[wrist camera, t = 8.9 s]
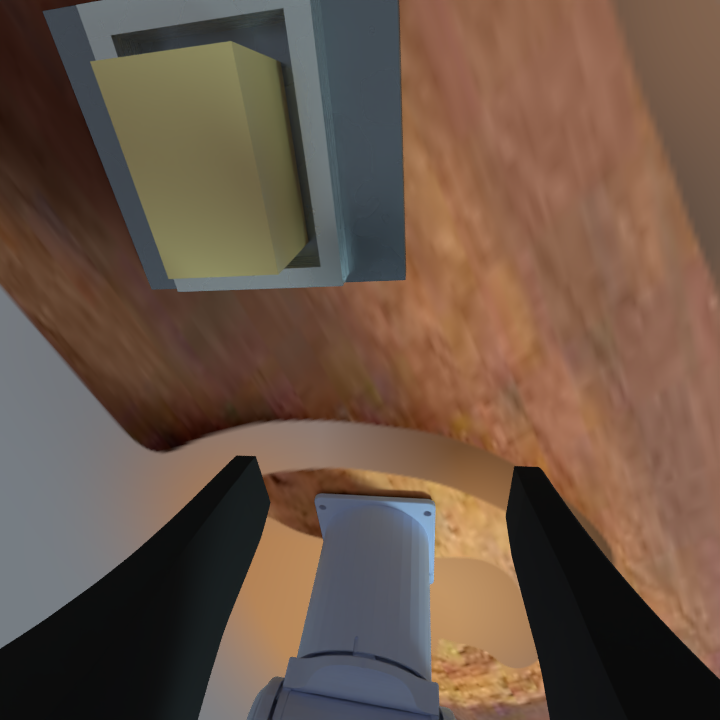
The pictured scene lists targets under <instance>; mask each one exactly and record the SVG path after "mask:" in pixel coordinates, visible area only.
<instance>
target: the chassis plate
mask: <svg viewBox="0 0 720 720" xmlns="http://www.w3.org/2000/svg"><path fill="white" fill-rule="evenodd" d="M43 14H44V16H45V19H46V21H47V24H48V26H49V29H50V31H51V34H52V37H53V39H54V42H55V44H56V47H57V49H58V52H59V54H60V57H61V59H62V62H63V65H64V67H65V70H66V72H67V75H68V77H69V80H70V82H71V85H72V87H73V90H74V93H75V95H76V98H77V100H78V103H79V105H80V108H81V110H82V113H83V116H84V118H85V121H86V123H87V126H88V128H89V131H90V133H91V136H92V138H93V141H94V144H95V146H96V149H97V151H98V154H99V156H100V159H101V161H102V164H103V166H104V169H105V172H106V174H107V177H108V179H109V182H110V184H111V187H112V189H113V192H114V194H115V197H116V200H117V202H118V205H119V207H120V210H121V212H122V215H123V217H124V220H125V223H126V225H127V228H128V230H129V233H130V235H131V238H132V240H133V243H134V245H135V248H136V251H137V253H138V256H139V258H140V261H141V263H142V266H143V268H144V271H145V273H146V276H147V279H148V281H149V284H150V286H151V289H177V290H178V292H186V291H214V290H241V289H269V288H297V287H325V286H343V285H344V283H345V282H365V281H391V280H405V278H406V249H405V209H404V170H403V131H402V92H401V52H400V13H399V0H101V1H95V2H89V3H84V4H78V5H75V6H69V7H63V8H58V9H52V10H46V11H43ZM228 41H232V42H235V43H237V44H239V45H242V46H244V47H247V48H249V49H251V50H254V51H256V52H258V53H261V54H263V55H266V56H268V57H270V58H273V59H275V60H277V61H280V62H281V67H282V74H283V80H284V87H285V93H286V100H287V106H288V113H289V119H290V126H291V132H292V138H293V145H294V151H295V158H296V164H297V171H298V177H299V184H300V190H301V197H302V203H303V210H304V216H305V223H306V229H307V235H308V243H307V244H306V245H305V247H304V248H303V249H302V250H301V251H300V252H299V253H298V254H297V255H296V256H295V257H294V259H293V260H292V261H291V262H290V263H289V264H288V265H287V266H286V267H285V268H284V269H283V270H282V272H281V273H280V274H279V275H257V276H232V277H207V278H182V279H168V276H167V273H166V270H165V268H164V265H163V262H162V259H161V257H160V254H159V251H158V248H157V245H156V243H155V240H154V237H153V234H152V232H151V229H150V226H149V223H148V221H147V218H146V215H145V212H144V209H143V207H142V204H141V201H140V198H139V196H138V193H137V190H136V187H135V185H134V182H133V179H132V176H131V174H130V171H129V168H128V165H127V162H126V160H125V157H124V154H123V151H122V149H121V146H120V143H119V140H118V138H117V135H116V132H115V129H114V126H113V124H112V121H111V118H110V115H109V113H108V110H107V107H106V104H105V102H104V99H103V96H102V93H101V90H100V88H99V85H98V82H97V79H96V77H95V74H94V71H93V68H92V66H91V63H90V61H97V60H104V59H111V58H118V57H124V56H131V55H138V54H145V53H152V52H159V51H166V50H173V49H179V48H186V47H193V46H200V45H207V44H214V43H221V42H228Z"/></svg>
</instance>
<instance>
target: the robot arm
mask: <svg viewBox="0 0 720 720" xmlns="http://www.w3.org/2000/svg"><path fill="white" fill-rule="evenodd" d="M269 506H270V499H269V496H268V493H267V490H266V487H265V484H264V481H263V477H262V474H261V471H260V468H259V465H258V462H257V459H256V456H236V457H234V459H233V460H231V461H230V462H229V463H228V464H227V465H226V466H225V467H224V468H223V469H222V470H221V471H220V472H219V473H218V474H217V475H216V476H215V477H214V478H213V479H212V480H211V481H210V482H209V483H208V484H207V485H206V486H205V487H204V488H203V489H202V490H201V491H200V492H199V493H198V494H197V495H196V496H195V497H194V498H193V499H192V500H191V501H190V502H189V503H188V504H187V505H186V506H185V507H184V508H183V509H182V510H181V511H180V512H178V514H176V515H175V516H174V517H173V518H172V519H171V520H170V521H169V522H168V523H167V524H166V525H165V526H164V527H162V528H161V529H160V530H159V531H158V532H157V533H156V534H154V535H153V536H152V537H151V538H150V539H149V540H148V541H147V542H146V543H144V544H143V545H142V546H141V547H140V548H139V549H138V550H136V551H135V552H134V553H133V554H132V555H131V556H129V557H128V558H127V559H126V560H124V562H122V563H121V564H120V565H118V566H117V567H116V568H114V569H113V570H112V571H111V572H109V573H108V574H107V575H106V576H104V577H103V578H102V579H100V580H99V581H98V582H97V583H95V584H94V585H93V586H91V587H90V588H88V589H87V590H86V591H84V592H83V593H82V594H80V595H79V596H77V597H76V598H75V599H73V600H72V601H70V602H69V603H68V604H66V605H65V606H63V607H62V608H61V609H59V610H58V611H56V612H55V613H54V614H52V615H51V616H49V617H48V618H47V619H45V620H44V621H42V622H41V623H39V624H38V625H36V626H35V627H33V628H32V629H30V630H29V631H27V632H26V633H24V634H23V635H21V636H20V637H18V638H16V639H15V640H13V641H12V642H10V643H9V644H7V645H5V646H4V647H2V648H1V649H0V720H198V717H199V713H200V710H201V706H202V703H203V699H204V696H205V692H206V689H207V685H208V681H209V678H210V675H211V671H212V668H213V665H214V662H215V658H216V655H217V652H218V649H219V645H220V642H221V639H222V635H223V633H224V630H225V627H226V625H227V622H228V619H229V616H230V614H231V611H232V609H233V606H234V604H235V601H236V599H237V597H238V594H239V591H240V589H241V587H242V584H243V582H244V579H245V577H246V574H247V572H248V569H249V567H250V564H251V562H252V559H253V557H254V554H255V552H256V549H257V546H258V544H259V541H260V539H261V536H262V532H263V529H264V525H265V522H266V518H267V514H268V510H269ZM315 506H316V510H317V515H318V519H319V524H320V528H321V532H322V537H323V541H324V542H323V546H322V551H321V555H320V559H319V564H318V568H317V573H316V577H315V582H314V585H313V590H312V594H311V599H310V603H309V607H308V611H307V616H306V620H305V624H304V629H303V633H302V637H301V642H300V646H299V651H298V655H297V658H296V657H290V659H289V663H288V667H287V671H286V675H285V678H282V677H274V678H272V679H271V681H270V682H269V683H268V685H266V686H265V687H264V688H263V689H262V690H261V691H260V692H259V693H258V695H257V696H256V698H255V701H254V702H253V705H252V707H251V709H250V712H249V714H248V717H247V720H456V719H455V716H454V714H453V712H452V711H451V710H450V709H449V708H446V707H440V706H439V685H438V683H436V682H431V633H430V584H432V583H433V581H434V545H435V502H434V501H432V500H430V499H419V498H400V497H381V496H362V495H344V494H325V493H320V494H317V495H316V497H315ZM506 522H507V529H508V536H509V542H510V548H511V555H512V559H513V563H514V567H515V571H516V575H517V578H518V582H519V586H520V590H521V594H522V597H523V601H524V605H525V609H526V613H527V616H528V620H529V624H530V628H531V632H532V635H533V639H534V643H535V647H536V650H537V654H538V659H539V664H540V668H541V672H542V677H543V683H544V689H545V694H546V700H547V705H548V711H549V717H550V720H720V679H719V678H718V677H717V676H716V675H715V674H714V673H713V672H712V671H711V670H710V669H709V668H708V667H707V666H706V665H705V664H704V663H703V662H702V661H701V660H700V659H699V658H698V657H697V656H696V655H695V654H694V653H693V652H692V651H691V650H690V649H689V648H688V647H687V646H686V645H685V644H684V643H683V642H682V641H681V640H680V639H679V638H678V637H677V636H676V635H675V634H674V633H673V632H672V631H671V630H670V629H669V627H668V626H667V625H666V624H665V623H664V622H663V621H662V620H661V619H660V618H659V617H658V616H657V615H656V614H655V613H654V611H653V610H652V609H651V608H650V607H649V606H648V605H647V604H646V603H645V602H644V600H643V599H642V598H641V597H640V596H639V595H638V594H637V593H636V591H635V590H634V589H633V588H632V587H631V586H630V584H629V583H628V582H627V581H626V580H625V579H624V577H623V576H622V575H621V574H620V573H619V572H618V570H617V569H616V568H615V567H614V566H613V564H612V563H611V562H610V561H609V560H608V558H606V556H605V555H604V554H603V552H602V551H601V550H600V548H599V547H598V546H597V545H596V543H595V542H594V541H593V539H592V538H591V537H590V536H589V535H588V533H587V532H586V531H585V529H584V528H583V527H582V525H581V524H580V523H579V522H578V520H577V519H576V517H575V516H574V515H573V513H572V512H571V511H570V509H569V508H568V507H567V505H566V504H565V502H564V501H563V499H562V498H561V497H560V495H559V494H558V492H557V491H556V489H555V488H554V487H553V485H552V484H551V482H550V481H549V479H548V478H547V476H546V475H545V473H544V472H543V470H542V469H541V468H539V467H523V466H514V471H513V477H512V483H511V489H510V495H509V500H508V506H507V511H506Z"/></svg>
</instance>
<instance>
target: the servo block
mask: <svg viewBox="0 0 720 720" xmlns="http://www.w3.org/2000/svg"><path fill="white" fill-rule="evenodd" d="M90 63H91V66H92V68H93V71H94V74H95V77H96V79H97V82H98V85H99V88H100V90H101V93H102V96H103V99H104V102H105V104H106V107H107V110H108V113H109V115H110V118H111V121H112V124H113V126H114V129H115V132H116V135H117V138H118V140H119V143H120V146H121V149H122V151H123V154H124V157H125V160H126V162H127V165H128V168H129V171H130V174H131V176H132V179H133V182H134V185H135V187H136V190H137V193H138V196H139V198H140V201H141V204H142V207H143V209H144V212H145V215H146V218H147V221H148V223H149V226H150V229H151V232H152V234H153V237H154V240H155V243H156V245H157V248H158V251H159V254H160V257H161V259H162V262H163V265H164V268H165V270H166V273H167V276H168V279H182V278H207V277H232V276H257V275H279V274H280V273H281V272H282V270H283V269H284V268H285V267H286V266H287V265H288V264H289V263H290V262H291V261H292V260H293V259H294V257H295V256H296V255H297V254H298V253H299V252H300V251H301V250H302V249H303V248H304V247H305V245H306V244H307V243H308V235H307V229H306V223H305V216H304V210H303V203H302V197H301V190H300V184H299V177H298V171H297V164H296V158H295V151H294V145H293V138H292V132H291V126H290V119H289V113H288V106H287V100H286V93H285V87H284V80H283V74H282V67H281V62H280V61H277V60H275V59H273V58H270V57H268V56H266V55H263V54H261V53H258V52H256V51H254V50H251V49H249V48H247V47H244V46H242V45H239V44H237V43H235V42H232V41H228V42H221V43H214V44H207V45H200V46H193V47H186V48H179V49H173V50H166V51H159V52H152V53H145V54H138V55H131V56H124V57H118V58H111V59H104V60H97V61H90Z"/></svg>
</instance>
